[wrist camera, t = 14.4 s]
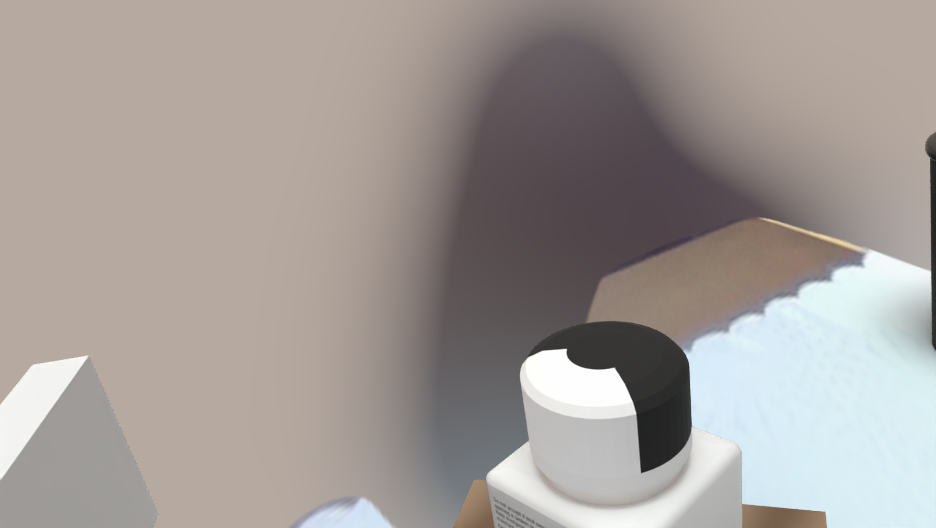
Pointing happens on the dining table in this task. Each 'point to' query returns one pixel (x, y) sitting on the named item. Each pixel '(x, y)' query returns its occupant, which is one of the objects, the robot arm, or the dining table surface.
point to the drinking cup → (933, 226)
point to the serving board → (757, 521)
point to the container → (614, 439)
